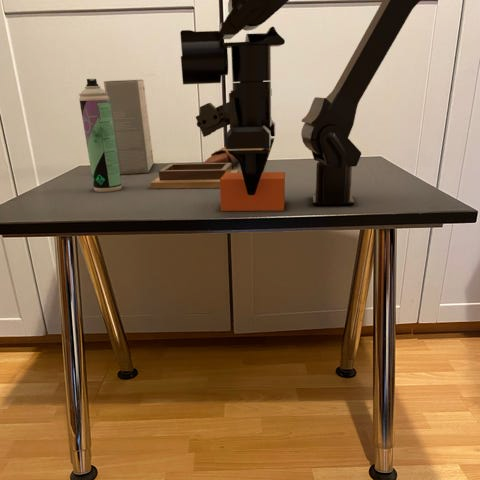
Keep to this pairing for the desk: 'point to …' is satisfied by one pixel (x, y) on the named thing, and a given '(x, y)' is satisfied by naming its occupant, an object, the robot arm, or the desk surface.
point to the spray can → (100, 137)
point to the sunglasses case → (222, 157)
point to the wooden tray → (192, 175)
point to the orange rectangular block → (266, 195)
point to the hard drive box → (130, 125)
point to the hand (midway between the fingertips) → (253, 188)
